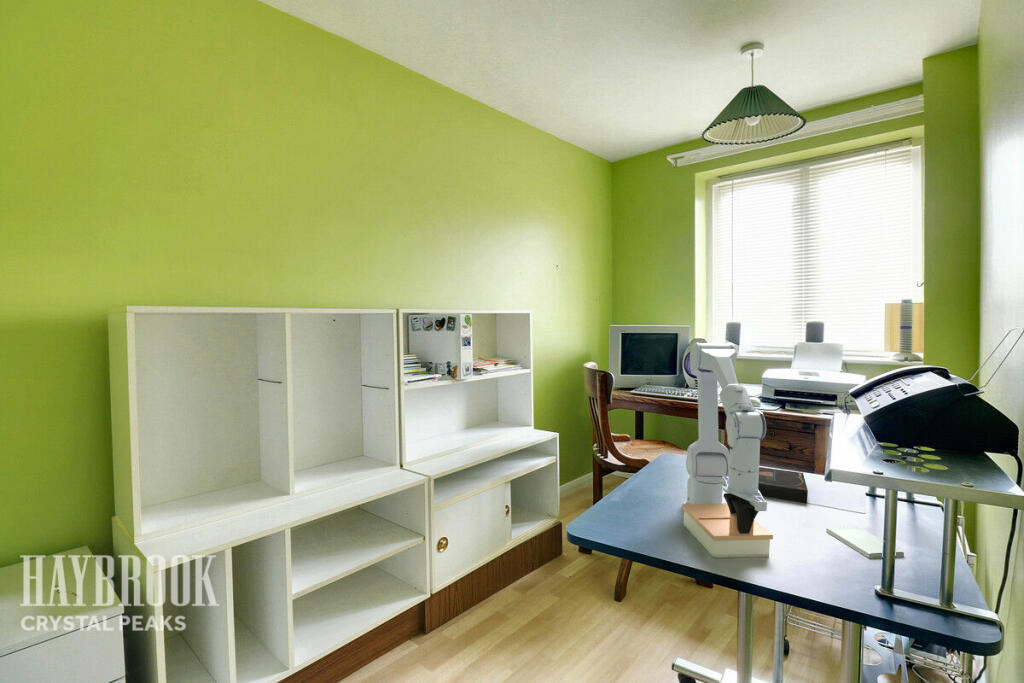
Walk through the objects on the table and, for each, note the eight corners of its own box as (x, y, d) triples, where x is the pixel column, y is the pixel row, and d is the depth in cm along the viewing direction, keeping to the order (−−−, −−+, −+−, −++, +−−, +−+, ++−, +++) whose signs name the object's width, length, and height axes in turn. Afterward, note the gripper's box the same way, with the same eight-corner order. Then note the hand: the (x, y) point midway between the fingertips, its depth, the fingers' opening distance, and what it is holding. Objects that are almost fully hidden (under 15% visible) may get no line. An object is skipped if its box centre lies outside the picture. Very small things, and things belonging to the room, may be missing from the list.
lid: (681, 508, 120) (682, 488, 120) (732, 507, 121) (733, 487, 121) (713, 540, 104) (714, 517, 103) (772, 539, 105) (773, 516, 104)
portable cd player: (740, 476, 157) (740, 464, 156) (802, 485, 149) (803, 472, 149) (738, 493, 142) (738, 480, 142) (807, 505, 134) (807, 490, 134)
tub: (683, 524, 120) (684, 508, 120) (731, 523, 121) (731, 508, 121) (714, 558, 104) (714, 539, 104) (769, 556, 105) (769, 538, 105)
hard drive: (904, 551, 106) (858, 525, 118) (868, 553, 105) (826, 527, 117) (903, 559, 106) (857, 532, 118) (868, 561, 105) (825, 533, 117)
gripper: (709, 457, 111) (707, 516, 112) (743, 480, 97) (740, 547, 98) (739, 457, 112) (737, 515, 112) (778, 479, 97) (775, 546, 98)
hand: (741, 530), depth 105 cm, fingers closed on lid
